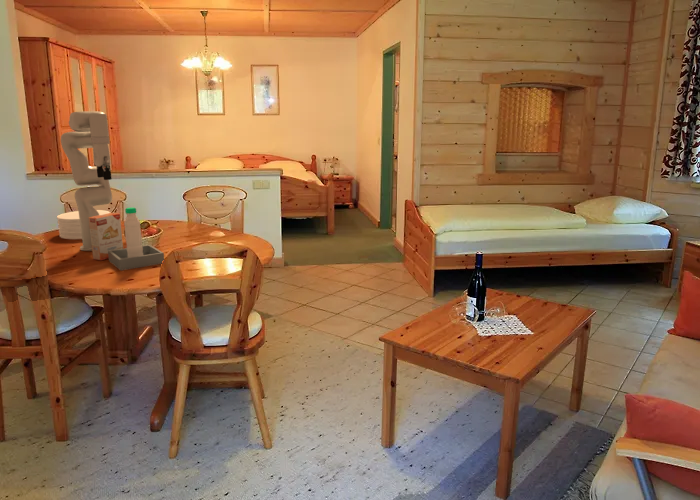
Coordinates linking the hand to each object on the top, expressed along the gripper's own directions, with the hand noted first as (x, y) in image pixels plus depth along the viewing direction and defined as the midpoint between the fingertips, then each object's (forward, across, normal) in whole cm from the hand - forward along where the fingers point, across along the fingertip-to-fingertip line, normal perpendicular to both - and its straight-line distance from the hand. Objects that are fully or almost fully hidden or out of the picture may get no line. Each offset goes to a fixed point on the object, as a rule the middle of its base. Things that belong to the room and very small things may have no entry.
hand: (104, 178), depth 262 cm
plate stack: (+42, -73, +6) cm, 84 cm away
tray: (+40, +8, +8) cm, 41 cm away
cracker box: (+40, -10, +1) cm, 41 cm away
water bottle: (+39, +8, +8) cm, 40 cm away
